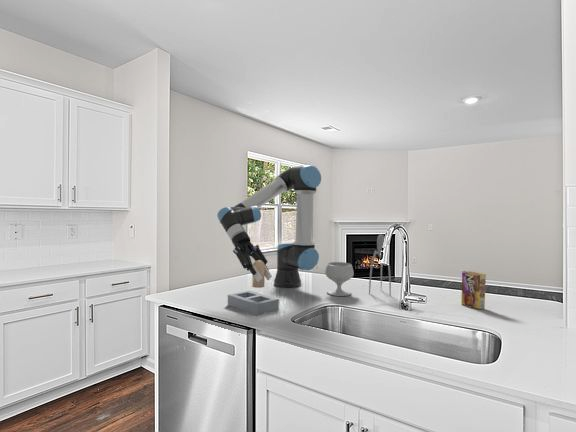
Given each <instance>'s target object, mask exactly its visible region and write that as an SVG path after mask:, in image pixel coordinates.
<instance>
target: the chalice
mask: <svg viewBox="0 0 576 432" xmlns="http://www.w3.org/2000/svg"><path fill="white" fill-rule="evenodd" d="M324 271H325V276H326V277H327V278H328V279H329V280H331V281H332V282H334V283H335V284H336V286H337V288H336V289H331V290H328V291H326V293H327V295H330V296H334V297H346V296H351V295H352V292H351V291H349V290H344V289H342V286H343V284H344V283H345V282H348V281H349V280H351V279H352V278H353V277H354V274H355V273H354V268H353V265H352V264H351V263H349V262H345V261H344V262H342V261H335V262H334V261H332V262H328V263H327V264H326V268H325V270H324Z"/></svg>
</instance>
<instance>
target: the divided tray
mask: <svg viewBox="0 0 576 432" xmlns="http://www.w3.org/2000/svg"><path fill="white" fill-rule="evenodd" d="M227 306H229V307H233V308H234V307H235V308H234V309H237V308H238V310H240V309H241V310H240V311H243V312H245V311H246V312H245V313H249V314H250V315H251V314H252V315H254V316H259V315H264V314H267V313H271V312H274V311H275V312H276V311H279V309H280V299H279V298H277V297H274V296H273V297H272V296H270V295H267V294H263V293H259V292H256V291H253V290H246V291H241V292H235V293H230V294H229V293H228V294H227Z"/></svg>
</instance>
